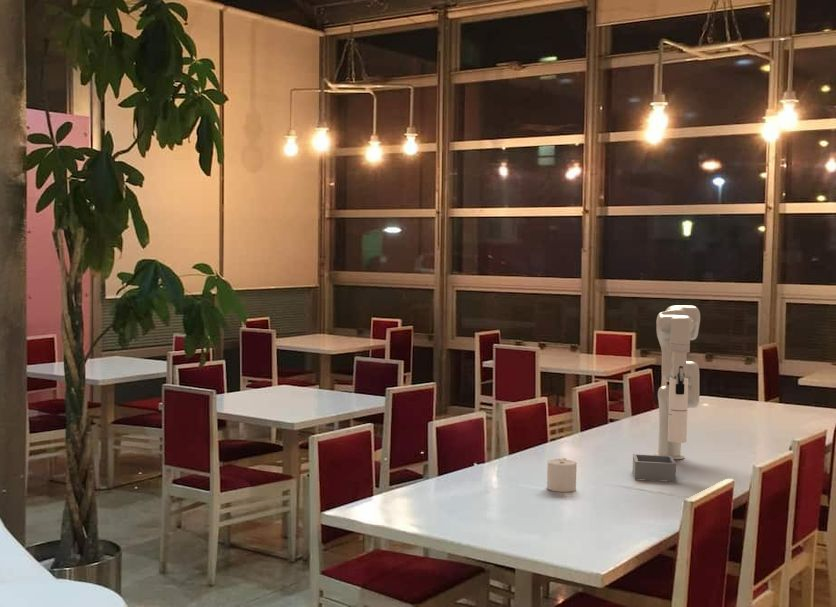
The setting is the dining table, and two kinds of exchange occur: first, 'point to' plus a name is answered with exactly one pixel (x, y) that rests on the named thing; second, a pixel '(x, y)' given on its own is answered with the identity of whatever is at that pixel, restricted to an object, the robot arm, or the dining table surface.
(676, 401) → the cylindrical container
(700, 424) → the dining table surface
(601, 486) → the dining table surface
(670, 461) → the box
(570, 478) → the toilet tissue
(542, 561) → the dining table surface
